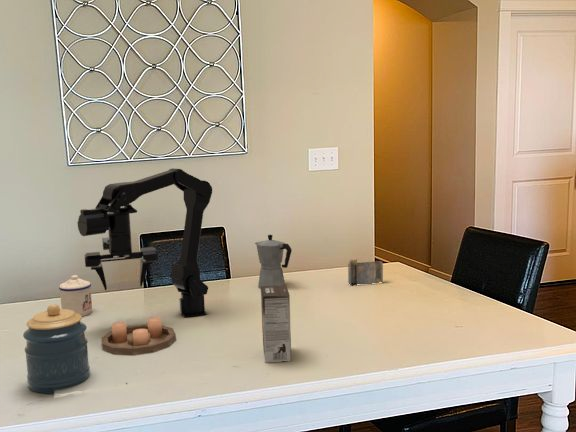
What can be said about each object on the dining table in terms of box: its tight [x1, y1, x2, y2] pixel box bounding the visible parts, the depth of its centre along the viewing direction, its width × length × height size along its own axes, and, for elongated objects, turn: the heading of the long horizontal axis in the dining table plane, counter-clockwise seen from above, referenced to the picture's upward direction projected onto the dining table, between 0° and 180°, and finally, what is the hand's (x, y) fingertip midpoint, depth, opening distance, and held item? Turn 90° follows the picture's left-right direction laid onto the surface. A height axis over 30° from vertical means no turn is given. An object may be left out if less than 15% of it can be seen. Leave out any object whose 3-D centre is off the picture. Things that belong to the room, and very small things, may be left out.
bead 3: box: [146, 316, 163, 338], centre depth 164 cm, size 4×4×4 cm
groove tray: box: [101, 323, 177, 356], centre depth 160 cm, size 18×18×3 cm
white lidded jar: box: [58, 274, 93, 317], centre depth 190 cm, size 12×9×12 cm
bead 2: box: [133, 329, 149, 346], centre depth 155 cm, size 4×4×4 cm
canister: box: [22, 303, 91, 394], centre depth 137 cm, size 13×13×18 cm
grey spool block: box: [347, 258, 384, 286], centre depth 213 cm, size 11×3×10 cm, turn 99°
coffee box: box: [260, 284, 292, 364], centre depth 150 cm, size 9×6×16 cm
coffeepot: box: [254, 234, 293, 290], centre depth 212 cm, size 15×9×18 cm, turn 51°
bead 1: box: [111, 321, 127, 343], centre depth 161 cm, size 4×4×4 cm
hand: (123, 287), depth 170 cm, fingers open, 9 cm apart
